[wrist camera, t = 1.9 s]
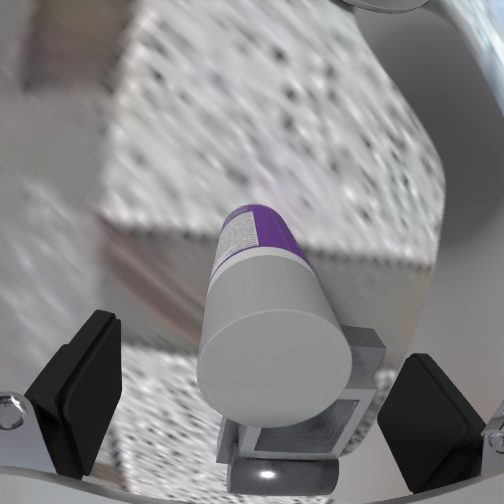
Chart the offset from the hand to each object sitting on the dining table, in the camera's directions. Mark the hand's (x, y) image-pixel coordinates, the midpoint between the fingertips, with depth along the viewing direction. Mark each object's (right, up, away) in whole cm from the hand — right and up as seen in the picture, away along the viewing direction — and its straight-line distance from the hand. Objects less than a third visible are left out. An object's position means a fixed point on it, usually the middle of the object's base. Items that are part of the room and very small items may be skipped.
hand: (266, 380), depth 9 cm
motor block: (+3, -9, +18) cm, 21 cm away
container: (0, +5, +14) cm, 15 cm away
